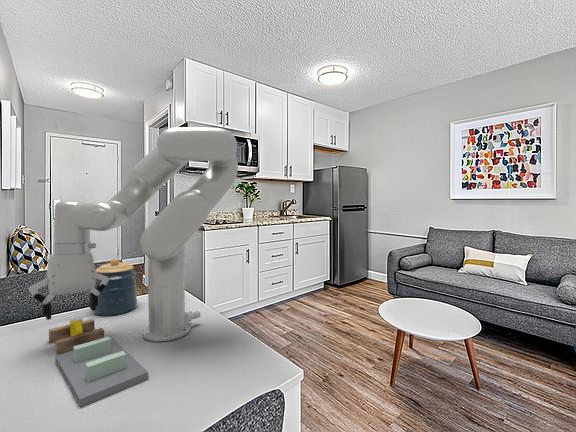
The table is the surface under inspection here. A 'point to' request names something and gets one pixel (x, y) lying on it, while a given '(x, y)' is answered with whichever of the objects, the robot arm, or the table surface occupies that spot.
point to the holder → (68, 342)
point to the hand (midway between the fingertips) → (71, 313)
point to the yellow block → (76, 326)
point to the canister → (116, 289)
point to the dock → (100, 383)
